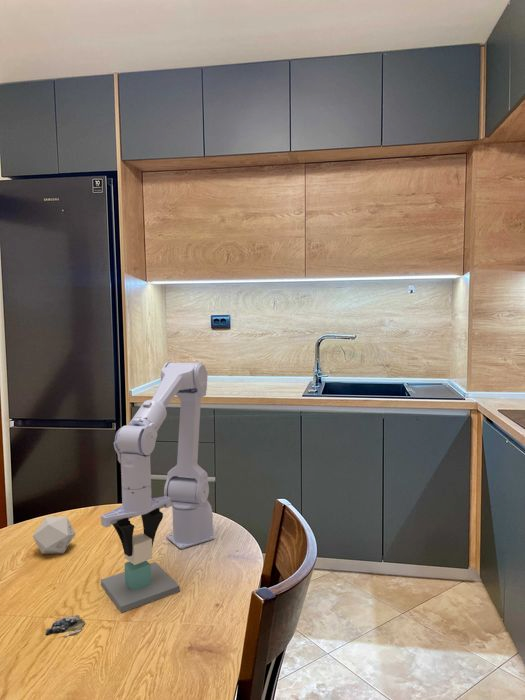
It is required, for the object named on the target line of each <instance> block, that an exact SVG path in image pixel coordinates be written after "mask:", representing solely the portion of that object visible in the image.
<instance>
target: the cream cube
mask: <svg viewBox="0 0 525 700" xmlns="http://www.w3.org/2000/svg"><path fill="white" fill-rule="evenodd" d="M132 546H133V552H132V556H127V555H126V554H124V559H125V560H126V561H127V562H129V561H130V562H131V563H132V564H134V565H136V564H139V563H141V562H144V561H148V560H151V559H153V547H152V539H151V538H149V537H148V536H146V535H144V532H140V533H138V534H135V535H134V534H133V538H132Z"/></svg>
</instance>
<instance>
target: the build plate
mask: <svg viewBox="0 0 525 700" xmlns="http://www.w3.org/2000/svg"><path fill="white" fill-rule="evenodd" d="M149 564H150V565H151V584H150V585H147V586H144V587H141V588H139V589H136V590H133V591H132V590H131V589H130V587H129V586H128V585H127V584H126V582H125V571H123V572H120V573H117V574H114V575H111V576H108V577H105V578H101V579H100V586H101V588H102V589H104V592H105V593H106V594H107V595H108V598H110V599H111V601H112V602H113V604H114V605H115V606H116V608H117V609H118V611H119V612H120V613H121V614H122V613H125V612H127V611H130V610H133V609H136V608H140V607H141V606H144V605H147V604H150V603H152V602H155V601H157V600H161V599H164V598H165V597H169V596H171V595H174V594H177V593H180V591H181V590H180V588H181V587H180V584H178V583H177V582H176V581H175V579H173V577H171V576H170V575H169V573H167V572H166V571H165V570H164V569H163V568H162V567H161V566H160V565H159V564H158V563H157V562H156V561H154V562H152V563H149Z"/></svg>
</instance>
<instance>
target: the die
mask: <svg viewBox="0 0 525 700" xmlns="http://www.w3.org/2000/svg"><path fill="white" fill-rule="evenodd" d="M75 535H76V532H75V530H74V528H73V526H72V524H71V521H70V520H69V518H68V517H67V516H46V517H45V518H44V519H43V520H42V522H41V523H40V524H39V526H38V528H37V529H36V531H35V532H34V533H33V534H32V538H33V540H34V542H35V544H36V545H37V548H38V549H39V551H40V553H41V554H42V555H45V554H47V555H49V554H54V555H55V554H56V555H57V554H64V553H65V551H66V550H67V548H68V546H69V545H70V543H71V542H72V540H73V539H74V537H75Z"/></svg>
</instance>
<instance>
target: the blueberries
mask: <svg viewBox="0 0 525 700" xmlns="http://www.w3.org/2000/svg"><path fill="white" fill-rule="evenodd" d="M80 617H81V616H80V614H77V615H76V614H75V615H71V616H65V617H63V618H60V619H57V620H56V621H54V622H53V623H52V625H51V626H50V627H49V628H47V629H46V630H45V636H49V635H58V634H63V633H66V634H65V635H64V634H63V635H61V637H58V639H59V638H62V637H68V636H75V635H78V634H80V633H81V632H82V630H83V628H84V625H85V624H86V622H85V620H84V618H80ZM68 632H69V633H68Z"/></svg>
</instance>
